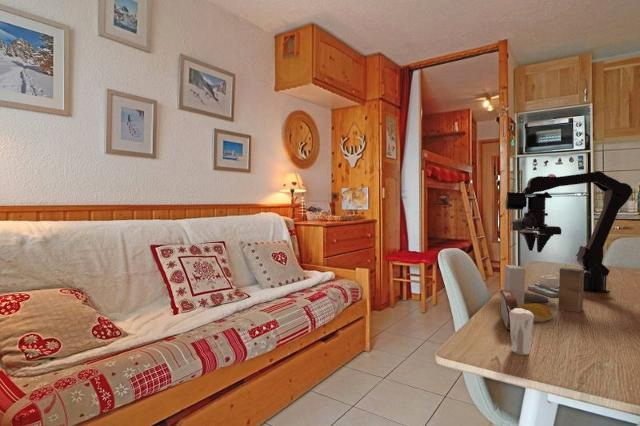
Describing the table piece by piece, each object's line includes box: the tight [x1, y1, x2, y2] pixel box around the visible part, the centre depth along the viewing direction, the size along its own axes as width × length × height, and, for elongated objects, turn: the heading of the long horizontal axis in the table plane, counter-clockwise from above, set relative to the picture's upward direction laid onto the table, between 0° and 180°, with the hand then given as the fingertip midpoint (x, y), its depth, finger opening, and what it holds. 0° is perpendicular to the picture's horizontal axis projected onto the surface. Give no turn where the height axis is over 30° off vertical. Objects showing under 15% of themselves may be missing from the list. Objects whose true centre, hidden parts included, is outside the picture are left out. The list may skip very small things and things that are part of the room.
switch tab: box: [539, 275, 559, 288], centre depth 131 cm, size 4×4×4 cm
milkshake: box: [508, 306, 534, 356], centre depth 78 cm, size 4×5×10 cm
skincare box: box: [503, 264, 526, 306], centre depth 112 cm, size 6×4×12 cm
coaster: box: [524, 293, 549, 304], centre depth 120 cm, size 9×9×1 cm
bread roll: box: [518, 302, 553, 323], centre depth 102 cm, size 8×9×4 cm
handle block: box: [558, 266, 585, 313], centre depth 109 cm, size 5×5×12 cm
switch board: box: [527, 282, 559, 298], centre depth 129 cm, size 12×11×2 cm
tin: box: [499, 289, 518, 331], centre depth 95 cm, size 15×3×8 cm, turn 160°
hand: (534, 251), depth 138 cm, fingers open, 4 cm apart
